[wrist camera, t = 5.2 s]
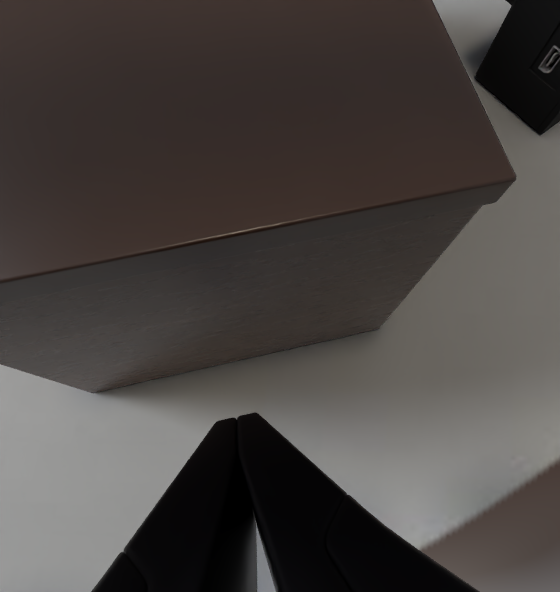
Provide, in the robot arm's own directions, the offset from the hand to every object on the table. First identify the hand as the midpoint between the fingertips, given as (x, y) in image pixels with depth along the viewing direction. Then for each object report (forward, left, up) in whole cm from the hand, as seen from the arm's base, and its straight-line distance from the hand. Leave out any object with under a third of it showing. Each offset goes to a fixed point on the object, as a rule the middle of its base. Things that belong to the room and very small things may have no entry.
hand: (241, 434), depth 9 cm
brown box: (+9, +8, -7) cm, 14 cm away
